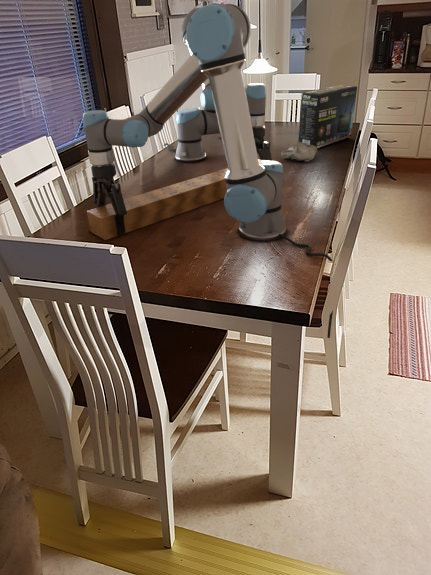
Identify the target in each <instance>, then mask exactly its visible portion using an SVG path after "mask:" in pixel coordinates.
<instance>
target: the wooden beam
mask: <svg viewBox="0 0 431 575" xmlns="http://www.w3.org/2000/svg"><path fill="white" fill-rule="evenodd" d="M227 171H228V167H226V168H223V169H220V170H216V171H213V172H210V173H206V174H203V175H200V176H196V177H193V178H190V179H187V180H184V181H180V182H177V183H173V184H171V185H170V184H169V185H167V186H164V187H160V188H157V189H154V190H151V191H147V192H144V193H140V194H138V195H134V196H131V197H128V198H123V200H124V204H125V207H126V211H127V214H126V215H123V217H124V224H125V231H126V233H123V234H122V235H124V234H128V233H129V232H132V231H136V230H138V229H141V228H144V227H147V226H149V225H153V224H155V223H159V222H161V221H164V220H166V219H170V218H172V217H175V216H179V215H181V214H183V213H186V212H189V211H192V210H195V209H198V208H200V207H203V206H206V205H209V204H212V203H215V202H218V201H221V200H224V197H225V194H226V192H227V187H226V182H225V177H224V176H225V174H226V173H227ZM115 215H116V214H115V211H114V209H113V206H112V204H111V203H108V204H107V203H106V205H104V206H101V207H94V208H92V209H89V210H86V216H87V219H88V225H89V230H90V232H91V233H92V234H94V235H95V236H97V237H98V238H100V239H102V240H104V241H107V240H110V239H113V238H115V237H119V236H120V235H118V234H117V228H116V221H115V217H114V216H115Z"/></svg>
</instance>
